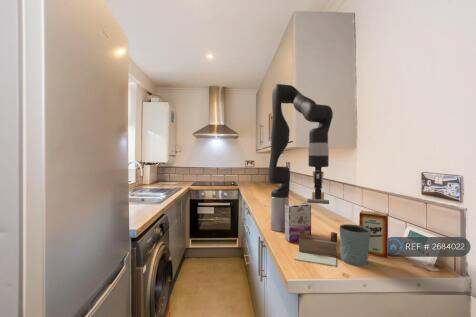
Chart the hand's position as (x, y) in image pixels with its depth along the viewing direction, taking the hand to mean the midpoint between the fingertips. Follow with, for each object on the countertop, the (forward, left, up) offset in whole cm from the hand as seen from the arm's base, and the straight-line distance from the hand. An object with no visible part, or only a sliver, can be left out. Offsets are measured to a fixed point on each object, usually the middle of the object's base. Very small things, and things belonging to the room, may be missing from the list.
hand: (318, 198), depth 92 cm
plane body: (-2, 0, -21) cm, 22 cm away
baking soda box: (-10, +21, -22) cm, 32 cm away
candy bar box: (-13, -9, -22) cm, 27 cm away
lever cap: (0, 0, -2) cm, 2 cm away
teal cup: (+3, +13, -22) cm, 25 cm away
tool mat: (+7, -1, -21) cm, 22 cm away
